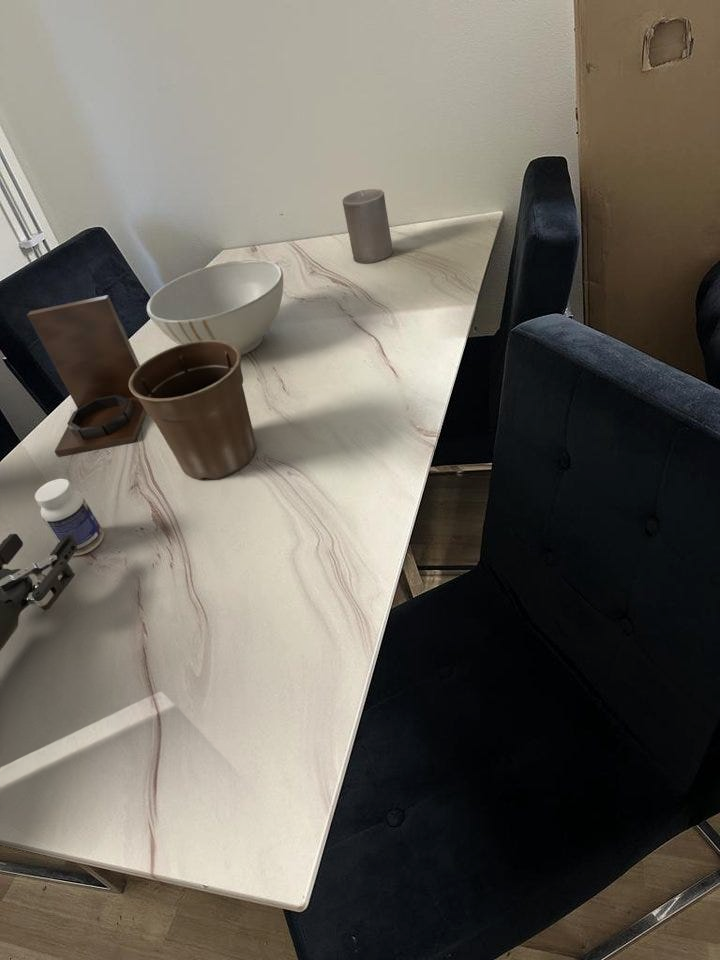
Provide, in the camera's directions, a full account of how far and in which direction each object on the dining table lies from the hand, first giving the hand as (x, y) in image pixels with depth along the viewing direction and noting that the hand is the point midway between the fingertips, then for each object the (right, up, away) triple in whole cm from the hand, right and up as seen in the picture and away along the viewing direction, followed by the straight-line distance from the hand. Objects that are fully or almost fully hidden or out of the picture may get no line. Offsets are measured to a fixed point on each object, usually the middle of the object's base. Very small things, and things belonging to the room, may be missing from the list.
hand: (44, 538), depth 86 cm
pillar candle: (+44, +61, +72) cm, 104 cm away
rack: (-4, +17, +32) cm, 37 cm away
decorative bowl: (+15, +35, +48) cm, 62 cm away
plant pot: (+19, +11, +18) cm, 28 cm away
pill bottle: (+2, -1, +8) cm, 8 cm away
